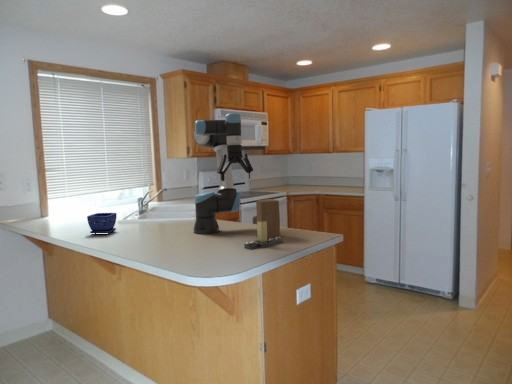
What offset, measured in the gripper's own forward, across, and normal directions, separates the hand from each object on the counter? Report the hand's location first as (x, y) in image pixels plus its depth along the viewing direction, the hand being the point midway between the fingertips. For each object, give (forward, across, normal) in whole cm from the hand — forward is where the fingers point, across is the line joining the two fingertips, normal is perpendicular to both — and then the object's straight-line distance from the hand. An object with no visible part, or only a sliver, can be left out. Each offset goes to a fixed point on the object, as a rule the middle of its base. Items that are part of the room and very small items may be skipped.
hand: (236, 186), depth 198 cm
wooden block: (+29, +18, -2) cm, 34 cm away
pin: (+29, +4, -16) cm, 33 cm away
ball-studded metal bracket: (+29, +4, -16) cm, 33 cm away
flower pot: (+29, -49, +78) cm, 97 cm away
